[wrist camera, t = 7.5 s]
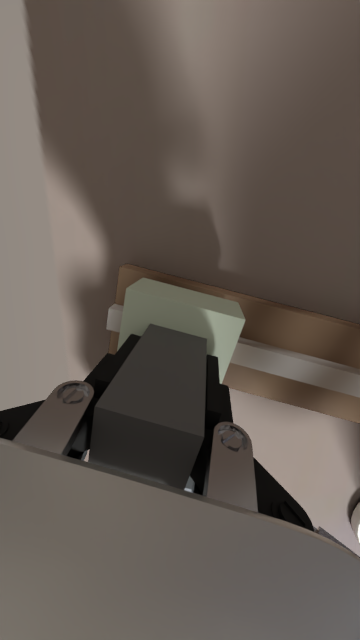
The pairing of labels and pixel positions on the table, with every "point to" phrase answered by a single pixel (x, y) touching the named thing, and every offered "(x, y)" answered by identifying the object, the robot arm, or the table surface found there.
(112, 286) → the table surface
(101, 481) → the robot arm
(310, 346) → the rail board
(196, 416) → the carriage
